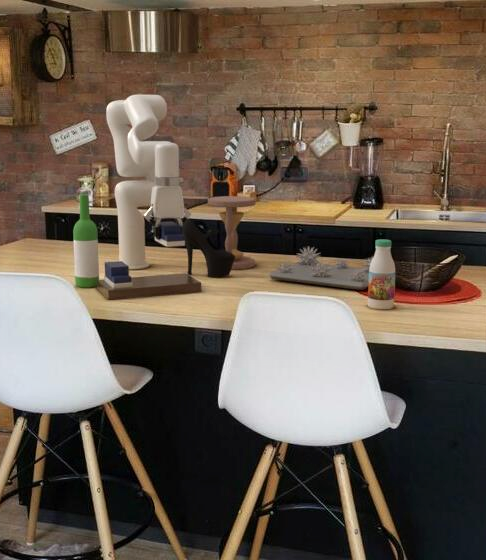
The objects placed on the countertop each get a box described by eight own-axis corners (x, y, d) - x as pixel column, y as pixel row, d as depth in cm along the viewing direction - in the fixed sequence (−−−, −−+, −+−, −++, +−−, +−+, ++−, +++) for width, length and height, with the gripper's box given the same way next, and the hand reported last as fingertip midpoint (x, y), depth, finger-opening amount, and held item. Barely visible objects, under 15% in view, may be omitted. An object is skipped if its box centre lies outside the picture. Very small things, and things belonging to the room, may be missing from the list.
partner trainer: (104, 280, 253) (103, 262, 252) (122, 278, 256) (121, 260, 254) (113, 288, 242) (112, 269, 240) (132, 287, 244) (132, 268, 243)
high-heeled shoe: (232, 278, 271) (233, 221, 267) (179, 276, 275) (179, 219, 270) (237, 274, 279) (238, 218, 274) (186, 271, 282) (185, 216, 278)
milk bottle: (364, 303, 237) (367, 238, 233) (390, 303, 238) (393, 238, 234) (370, 310, 230) (373, 242, 226) (396, 309, 230) (400, 242, 226)
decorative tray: (267, 281, 268) (267, 252, 266) (299, 268, 290) (300, 241, 288) (364, 292, 251) (365, 262, 249) (390, 278, 274) (392, 250, 271)
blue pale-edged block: (154, 240, 257) (154, 222, 256) (172, 239, 259) (172, 221, 258) (166, 246, 245) (166, 227, 244) (184, 245, 248) (184, 226, 246)
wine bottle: (78, 282, 263) (74, 193, 257) (101, 283, 263) (98, 193, 257) (72, 288, 256) (68, 195, 249) (96, 288, 255) (93, 196, 249)
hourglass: (245, 271, 284) (246, 202, 278) (200, 268, 289) (200, 200, 284) (260, 262, 300) (261, 197, 295) (218, 259, 305) (217, 195, 300)
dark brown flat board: (97, 288, 255) (96, 279, 254) (185, 281, 266) (185, 273, 265) (108, 299, 240) (108, 290, 240) (201, 291, 252) (201, 282, 251)
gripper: (189, 180, 256) (189, 235, 260) (137, 182, 250) (138, 238, 254) (196, 182, 250) (197, 238, 253) (144, 184, 243) (145, 241, 247)
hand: (168, 237), depth 253 cm, fingers closed on blue pale-edged block, 6 cm apart
